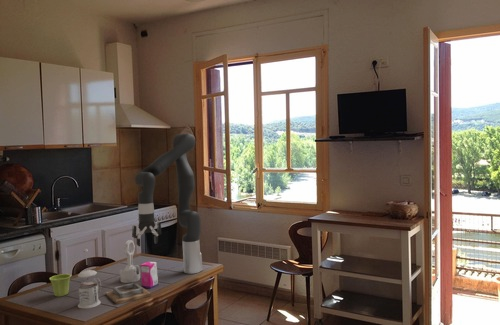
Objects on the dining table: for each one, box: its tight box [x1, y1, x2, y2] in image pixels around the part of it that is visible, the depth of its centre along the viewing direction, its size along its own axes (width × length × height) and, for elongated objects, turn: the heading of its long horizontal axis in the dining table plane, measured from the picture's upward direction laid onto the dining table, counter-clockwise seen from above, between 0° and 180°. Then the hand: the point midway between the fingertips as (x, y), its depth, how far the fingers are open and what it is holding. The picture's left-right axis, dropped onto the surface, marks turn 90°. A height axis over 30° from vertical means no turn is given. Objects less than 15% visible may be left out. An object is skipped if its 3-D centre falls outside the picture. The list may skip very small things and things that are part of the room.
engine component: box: [119, 239, 141, 284], centre depth 224 cm, size 11×20×10 cm
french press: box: [77, 248, 102, 309], centre depth 190 cm, size 10×12×25 cm
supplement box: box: [140, 261, 159, 289], centre depth 212 cm, size 6×6×12 cm
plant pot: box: [49, 273, 72, 297], centre depth 205 cm, size 9×9×9 cm
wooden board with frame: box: [105, 282, 152, 305], centre depth 200 cm, size 16×16×3 cm
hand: (147, 244), depth 211 cm, fingers open, 8 cm apart
